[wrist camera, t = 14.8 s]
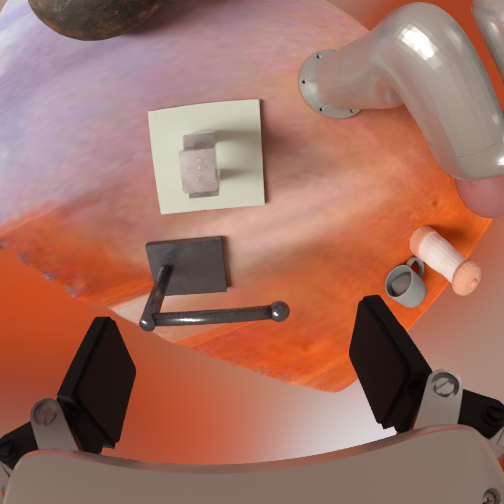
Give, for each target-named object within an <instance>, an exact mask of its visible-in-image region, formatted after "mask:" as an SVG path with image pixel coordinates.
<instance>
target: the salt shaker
mask: <svg viewBox="0 0 504 504" xmlns="http://www.w3.org/2000/svg"><path fill="white" fill-rule="evenodd" d="M410 250H411V252H412V253H413V254H414V255H415V256H416V257H417V258H419V259H420V260H421V261H422V262H425V263H426V264H427V265H428V266H430V267H431V268H432V269H434V270H436V271H437V272H439V273H441V274H442V275H443V276H445V277H446V278H447V279H448V280H449V281H450V282H451V283H452V287H453V290H454V292H455V293H457V294H458V295H467V294H469V293H471V292H472V291H473V290H474V289H475V288H476V286H477V285H478V283H479V281H480V278H481V269H480V266H479V264H478V263H477V262H476V261H475V260H467V259H466V258H465V257H463V256H462V255H461V254H460V253H458V252H457V251H456V250H455V248H454V247H453V246H452V245H451V244H450V243H449V242H448V241H447V240H446V239H444V238H443V237H441V235H440V234H439V233H438V232H437V231H436V230H434V229H433V228H431V227H430V226H427V225H424V226H421V227H419V228H418V229H416V230H415V231H414V233H413V235H412V236H411V239H410Z"/></svg>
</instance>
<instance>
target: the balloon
mask: <svg viewBox="0 0 504 504" xmlns="http://www.w3.org/2000/svg"><path fill="white" fill-rule="evenodd" d="M455 180H456V186H457V190H458V193H459V195H460V197H461V199H462V201H463V202H464V204H465V205H466V206H467V207H468V208H469V209H470V210H471V211H472V212H473V213H475V214H477V215H479V216H481V217H485V218H495V217H499V216H502V215H503V214H504V175H501V176H497V177H492V178H488V179H482V180H473V181H465V180H459V179H455Z"/></svg>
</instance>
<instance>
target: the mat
mask: <svg viewBox="0 0 504 504" xmlns="http://www.w3.org/2000/svg"><path fill="white" fill-rule="evenodd" d="M148 118H149V128H150V138H151V147H152V155H153V163H154V171H155V178H156V185H157V192H158V198H159V204H160V210H161V214H169V213H178V212H188V211H198V210H209V209H220V208H231V207H244V206H257V205H265V203H264V181H263V161H262V142H261V124H260V107H259V99H254V100H237V101H224V102H213V103H203V104H195V105H187V106H180V107H173V108H167V109H161V110H155V111H150V112H148ZM214 130H217V133H218V143H217V145H216V157H217V169H220V170H221V187H220V193H219V196H213V197H202V198H193V199H189V193H185V194H183V190H182V182H181V173H180V165H179V156H178V152H180V151H181V150H183V149H184V148H183V138H182V136H184V135H187V134H190V133H195V132H204V131H214Z"/></svg>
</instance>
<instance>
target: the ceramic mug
mask: <svg viewBox="0 0 504 504" xmlns="http://www.w3.org/2000/svg"><path fill="white" fill-rule="evenodd" d="M415 260H416V261H417V262H418V265H419V271H418V275H417V274H416V273H415V272H414V271H413V270H412V269H411V265H412V264H413V262H414V261H415ZM423 273H424V263H423V262H422V261H421V260H420V259H419V258H417V257H411V258H410V259H409V260H408V262H407V263H406V265H400V266H397V267H396V268H394V269H393V270H392V271H391V272H390V274H389V275H388V277H387V279H386V282H385V290H386V293H387V294H388V296H389V297H390V298H392V299H394V300H395V301H397V302H399V303H401V304H402V305H404V306H406V307H409V308H414V307H417V306H418V305H420V304H421V303H422V302H423V300H424V299H425V296H426V292H427V288H426V285H425V283H424V281H423V280H422V276H423Z"/></svg>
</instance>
